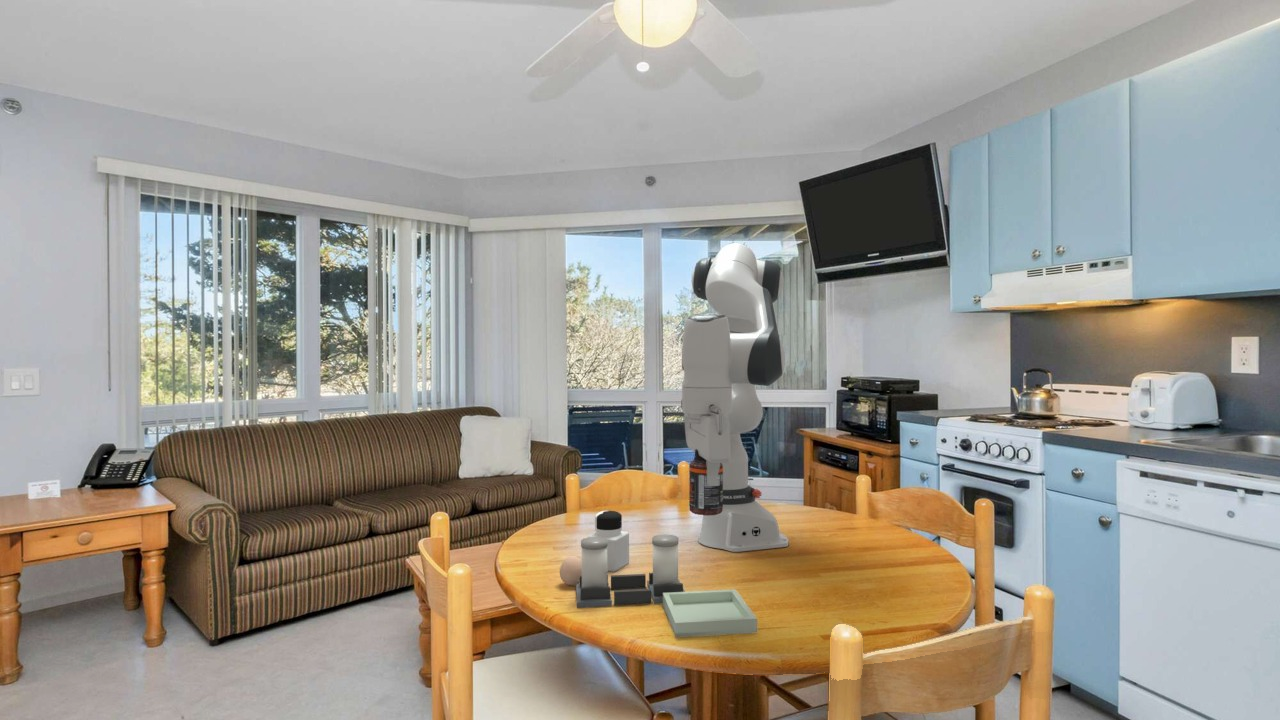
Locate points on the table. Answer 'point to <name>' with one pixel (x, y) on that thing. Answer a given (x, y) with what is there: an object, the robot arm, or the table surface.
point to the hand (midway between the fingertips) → (706, 480)
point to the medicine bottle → (613, 538)
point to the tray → (708, 613)
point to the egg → (571, 570)
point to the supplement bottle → (704, 489)
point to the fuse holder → (596, 579)
